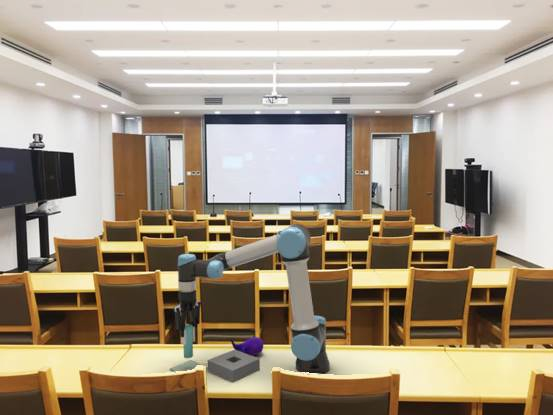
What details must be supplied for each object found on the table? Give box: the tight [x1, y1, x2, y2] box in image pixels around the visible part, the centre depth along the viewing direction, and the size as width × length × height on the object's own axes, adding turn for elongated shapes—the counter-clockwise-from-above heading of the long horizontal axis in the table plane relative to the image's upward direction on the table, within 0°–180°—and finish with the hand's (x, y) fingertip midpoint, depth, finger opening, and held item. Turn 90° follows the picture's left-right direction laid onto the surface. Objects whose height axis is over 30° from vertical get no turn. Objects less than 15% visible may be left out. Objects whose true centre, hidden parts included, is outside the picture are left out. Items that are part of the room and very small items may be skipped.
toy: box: [230, 336, 264, 357], centre depth 222 cm, size 9×10×15 cm
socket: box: [207, 349, 261, 383], centre depth 205 cm, size 16×16×5 cm
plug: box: [182, 323, 194, 359], centre depth 206 cm, size 4×4×14 cm
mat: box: [169, 359, 208, 372], centre depth 207 cm, size 12×12×1 cm
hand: (188, 342), depth 206 cm, fingers closed on plug, 4 cm apart
